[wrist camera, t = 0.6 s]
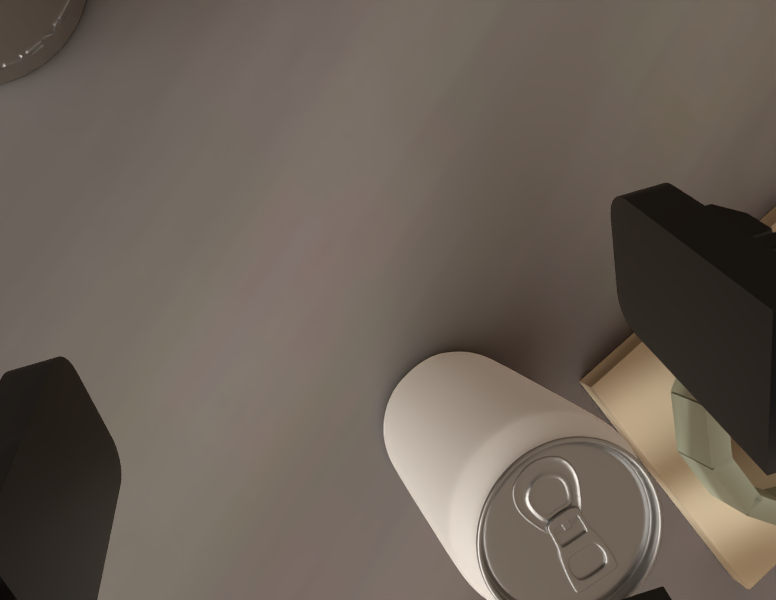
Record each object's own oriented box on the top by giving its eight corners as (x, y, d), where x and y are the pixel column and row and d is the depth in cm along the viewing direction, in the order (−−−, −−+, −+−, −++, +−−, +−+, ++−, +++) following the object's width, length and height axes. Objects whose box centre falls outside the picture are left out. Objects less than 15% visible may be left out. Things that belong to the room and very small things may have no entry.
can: (480, 320, 32) (616, 378, 21) (548, 442, 34) (713, 560, 22) (353, 400, 32) (419, 506, 20) (427, 521, 33) (530, 688, 21)
